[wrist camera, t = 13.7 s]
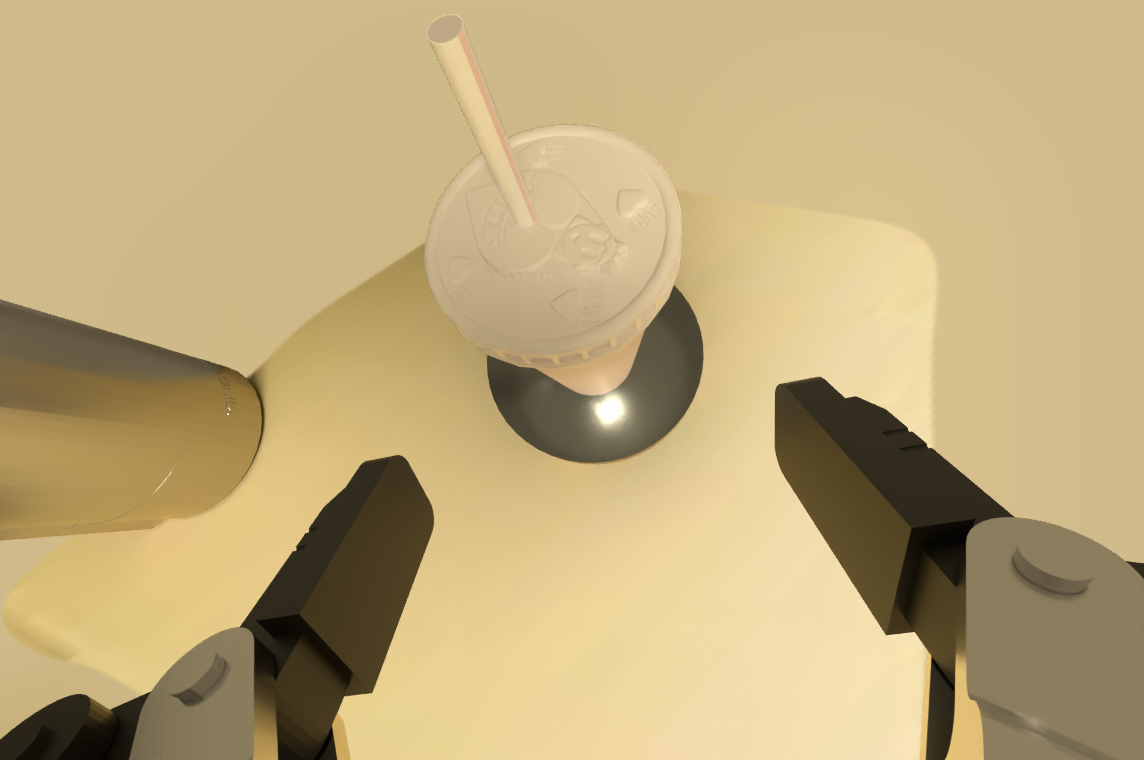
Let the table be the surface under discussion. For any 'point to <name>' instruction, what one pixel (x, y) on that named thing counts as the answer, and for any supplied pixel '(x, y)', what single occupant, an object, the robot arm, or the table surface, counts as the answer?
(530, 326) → the smoothie
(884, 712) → the table surface
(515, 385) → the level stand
